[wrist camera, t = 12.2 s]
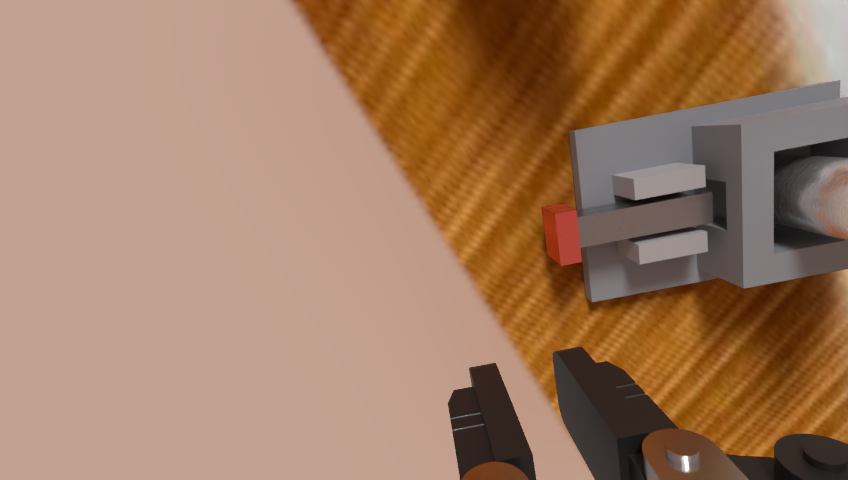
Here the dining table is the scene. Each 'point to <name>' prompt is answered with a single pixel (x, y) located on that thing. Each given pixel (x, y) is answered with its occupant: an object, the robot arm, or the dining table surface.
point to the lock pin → (621, 221)
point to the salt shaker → (812, 193)
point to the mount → (711, 171)
